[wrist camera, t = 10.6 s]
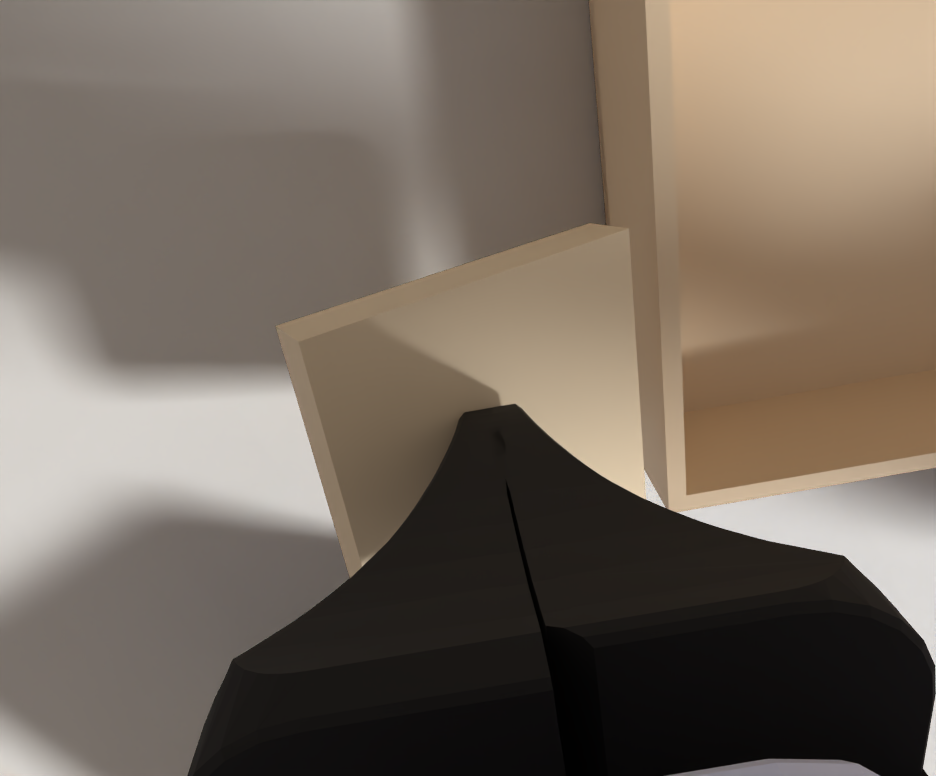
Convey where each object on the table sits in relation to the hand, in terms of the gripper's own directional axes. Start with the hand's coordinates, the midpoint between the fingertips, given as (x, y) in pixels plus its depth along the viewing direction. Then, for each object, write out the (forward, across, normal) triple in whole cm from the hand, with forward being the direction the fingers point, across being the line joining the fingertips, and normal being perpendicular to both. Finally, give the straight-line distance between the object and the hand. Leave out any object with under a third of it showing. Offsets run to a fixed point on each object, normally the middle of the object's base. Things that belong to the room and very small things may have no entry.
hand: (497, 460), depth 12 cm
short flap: (0, 0, 0) cm, 0 cm away
